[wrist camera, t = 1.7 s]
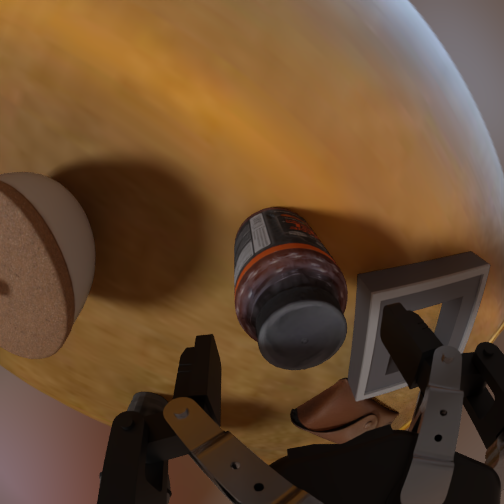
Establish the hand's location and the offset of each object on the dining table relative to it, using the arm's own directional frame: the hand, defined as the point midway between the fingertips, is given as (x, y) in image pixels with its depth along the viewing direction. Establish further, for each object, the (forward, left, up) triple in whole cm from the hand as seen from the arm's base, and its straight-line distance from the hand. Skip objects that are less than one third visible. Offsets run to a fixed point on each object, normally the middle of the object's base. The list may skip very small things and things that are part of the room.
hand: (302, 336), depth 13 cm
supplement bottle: (0, 0, -11) cm, 11 cm away
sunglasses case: (+26, +9, -11) cm, 30 cm away
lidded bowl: (-4, -18, -11) cm, 21 cm away
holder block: (+11, +14, -11) cm, 21 cm away
